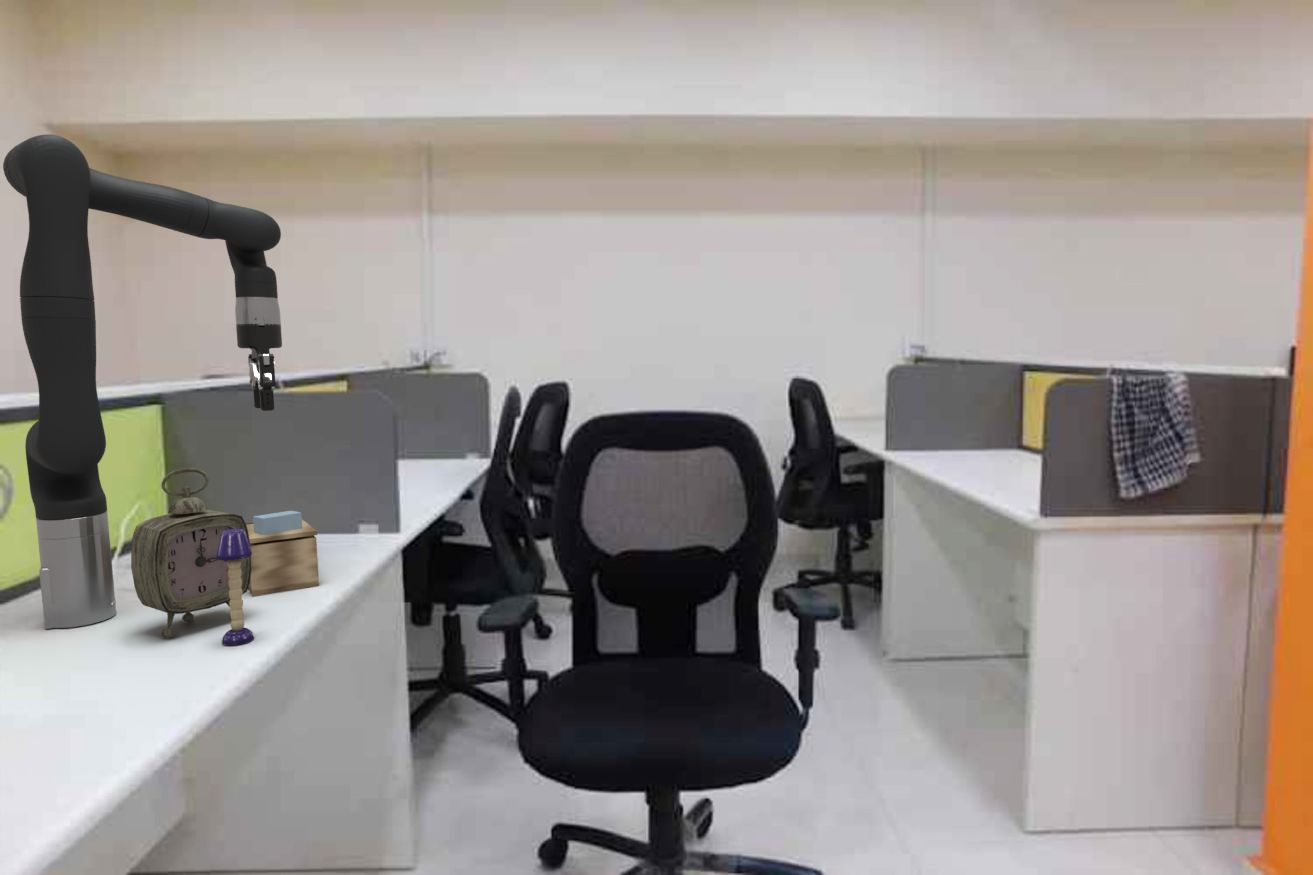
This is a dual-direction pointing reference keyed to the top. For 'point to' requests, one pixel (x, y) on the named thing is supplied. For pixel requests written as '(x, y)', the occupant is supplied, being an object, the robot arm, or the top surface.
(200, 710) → the top surface
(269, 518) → the light blue block
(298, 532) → the lid
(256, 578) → the crate
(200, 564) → the tabletop clock
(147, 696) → the top surface
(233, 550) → the toy lamp
